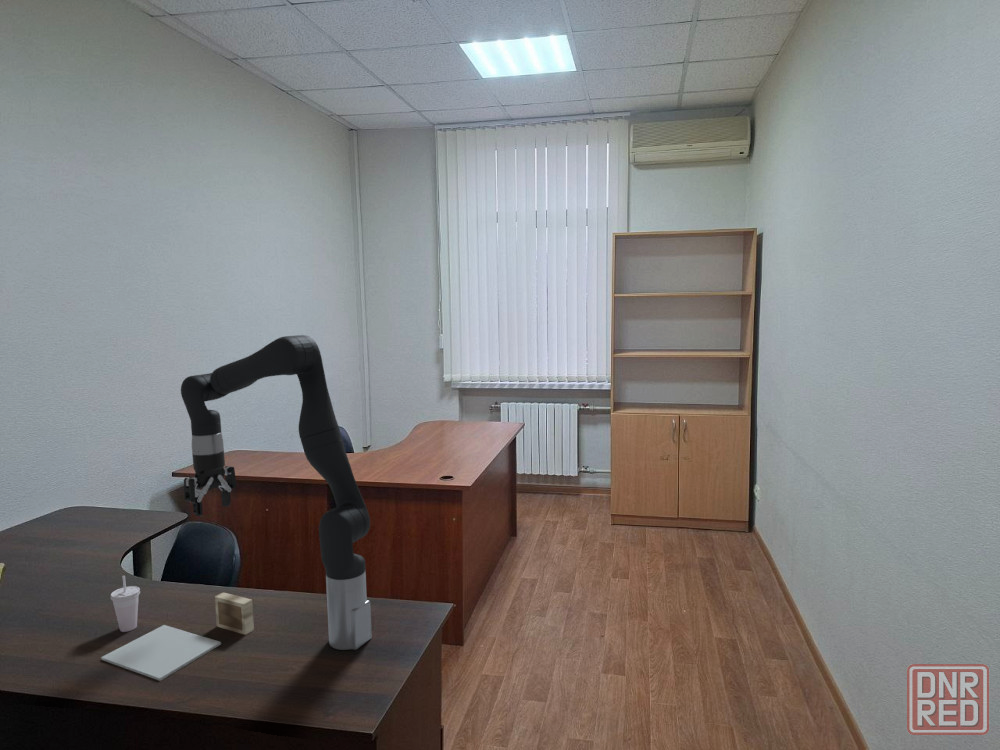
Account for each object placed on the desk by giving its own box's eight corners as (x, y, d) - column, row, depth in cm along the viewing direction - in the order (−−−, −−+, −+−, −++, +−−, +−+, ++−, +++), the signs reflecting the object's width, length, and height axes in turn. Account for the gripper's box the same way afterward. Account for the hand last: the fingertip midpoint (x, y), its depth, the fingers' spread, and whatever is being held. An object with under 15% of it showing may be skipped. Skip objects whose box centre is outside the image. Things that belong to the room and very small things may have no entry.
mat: (220, 644, 150) (220, 641, 150) (160, 680, 136) (159, 678, 136) (164, 627, 159) (164, 624, 159) (101, 659, 145) (101, 657, 144)
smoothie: (112, 637, 154) (107, 582, 153) (114, 625, 160) (109, 572, 158) (142, 630, 157) (137, 577, 156) (143, 619, 163) (139, 567, 161)
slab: (253, 630, 157) (252, 599, 156) (245, 635, 155) (243, 604, 154) (225, 621, 161) (223, 592, 160) (216, 626, 159) (214, 596, 158)
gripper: (194, 457, 156) (199, 521, 158) (240, 445, 169) (244, 504, 170) (173, 455, 159) (179, 517, 161) (220, 443, 172) (224, 501, 174)
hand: (212, 510), depth 166 cm, fingers open, 8 cm apart
